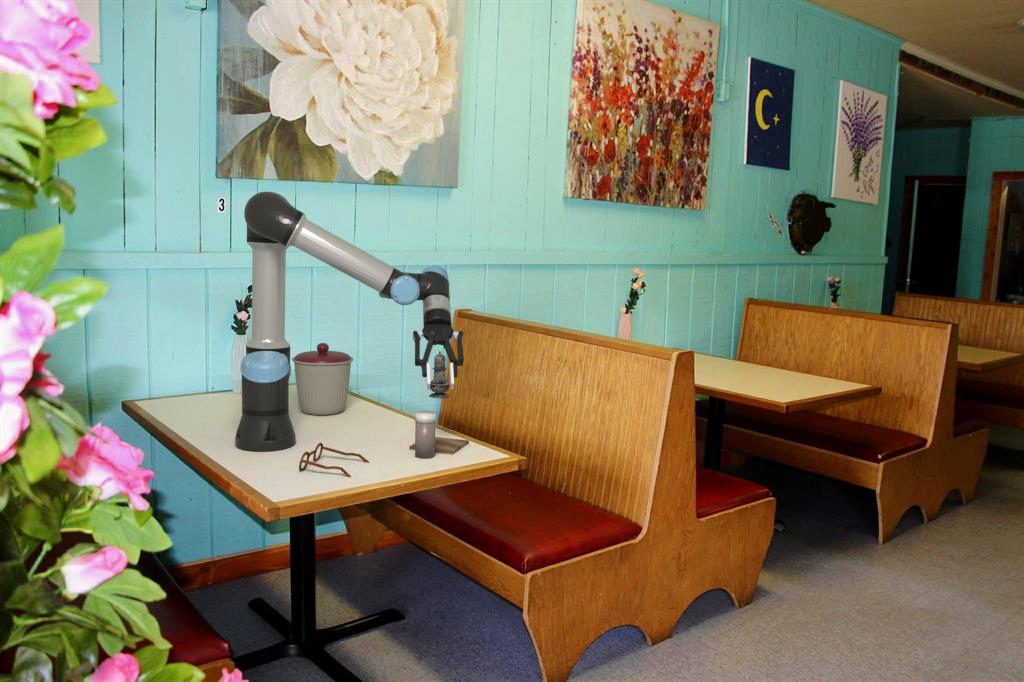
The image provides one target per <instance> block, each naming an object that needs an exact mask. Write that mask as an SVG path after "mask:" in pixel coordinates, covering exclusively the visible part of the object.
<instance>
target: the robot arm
mask: <svg viewBox="0 0 1024 682" xmlns="http://www.w3.org/2000/svg"><path fill="white" fill-rule="evenodd" d="M243 211H244V212H243V214H244V215H243V216H244V220H245V223H246V243H247V245H248V246H249V247H250V248H251V249H252V250H251V251H252V260H251V261H252V262H251V263H252V264H251V265H252V268H251V269H252V273H251V276H252V277H251V278H252V280H251V281H252V282H251V283H252V284H251V292H252V293H251V338H250V340H249V341H247V342H246V344H245V355H244V356H243V357H242V360H241V364H240V372H241V417H240V421H239V424H238V426H237V430H236V433H235V435H234V436H235V437H234V444H235V447H236V448H238V449H241V450H245V451H249V452H250V451H251V452H268V451H269V452H270V451H279V450H284V449H288V448H291V447H293V446H295V445H296V443H297V440H296V439H297V438H296V437H297V435H296V432H295V430H294V425H293V423H292V419H291V417H290V414H289V413H290V412H289V411H290V410H289V409H290V407H289V405H290V403H289V400H290V399H289V396H290V395H289V393H290V392H289V391H290V390H289V388H290V387H289V384H290V377H291V374H292V365H291V343H290V342H288V341H287V339H286V338H285V337H286V336H285V334H286V333H285V331H286V329H285V328H286V326H285V325H286V265H287V263H286V260H287V257H286V255H287V250H288V249H289V247H295V248H296V249H299V250H300V251H301V252H304V253H306V254H308V255H310V256H311V257H313V258H316V259H317V260H318V261H321V262H322V263H325V264H326V265H328V266H330V267H331V268H334V269H335V270H337V271H340V272H341V273H343V274H345V275H347V276H349V277H350V278H352V279H354V280H356V281H358V282H360V283H362V284H364V285H365V286H367V287H369V288H371V289H373V290H375V291H377V292H378V297H380V298H383V299H388V300H392V301H394V302H395V303H396V304H398V305H400V306H409V305H412V304H413V303H415V302H417V301H422V315H423V317H422V318H423V319H422V320H423V328H422V329H421V330H420V331H418V330H413V332H412V339H413V343H414V365H415V367H421V376H422V378H426V390H430V391H431V389H430V381H431V367H430V362H429V359H430V356H431V353H432V349H433V346H437V345H439V346H442V347H443V349H444V351H445V352H446V355H447V358H448V360H449V368H448V369H449V382H450V387H449V389H450V390H454V387H455V378H457V377H458V374H459V372H458V368H459V367H463V365H464V363H465V361H464V360H465V359H464V358H465V356H464V348H463V339H464V338H463V336H464V331H463V330H459V331H456V330H454V329H453V327H452V325H453V324H452V316H451V314H452V312H451V300H450V299H451V298H450V297H451V295H450V294H451V293H450V280H449V275H448V271H447V270H446V269H445V268H444V267H442V266H440V265H432V266H427V267H425V268H424V269H423V270H422V273H421V272H420V273H418V272H417V273H415V272H414V273H413V272H407V271H401V270H399V269H398V268H395V267H394V266H392V265H391V264H388V263H387V262H384V261H383V260H381V259H380V258H377V257H376V256H374V255H372V254H370V253H369V252H367V251H365V250H363V249H361V248H359V247H357V246H356V245H354V244H353V243H350V242H348V241H347V240H345V239H343V238H342V237H340V236H337V235H335V234H334V233H332V232H330V231H328V230H327V229H325V228H323V227H322V226H320V225H318V224H316V223H314V222H312V221H310V220H309V219H308V218H307V217H306V214H305V212H302V211H301V210H299V209H298V208H296V207H294V206H293V205H292V204H291V203H290V201H289V200H288V199H287V198H286V197H285V196H283V195H282V194H280V193H278V192H274V191H261V192H258V193H255V194H253V196H251V197H250V198H249V199H248V200H247V202H246V204H245V207H244V210H243ZM422 337H423V338H424V339H425V340H426V341H427V344H426V346H425V347H426V348H425V351H424V354H423V358H422V359H421V353H420V352H421V350H420V349H421V340H422ZM453 337H454V340H455V342H456V353H457V356H456V354H455V352H454V350H453V346H452V345H451V341H450V340H451V339H452V338H453Z"/></svg>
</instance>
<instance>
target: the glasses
mask: <svg viewBox="0 0 1024 682" xmlns="http://www.w3.org/2000/svg"><path fill="white" fill-rule="evenodd" d="M319 447H320V451H319V454H318V456H317V452H318V449H319ZM323 450H324V451H327V452H332V453H336V454H338V455H339V454H340V455H342V456H345V457H346V456H353V457H358V458H360V460H362V461H363V462H364V463H366V462H367V464H370V461H369V460H367V458H366V457H364V456H363V455H362V454H360V453H355V452H344V451H341V450H337V449H334V448H330V447H328V446H324V444H323V442H319V443H318V444H317V445H316V447H315V448H314V450H312V451H310V452H309V451H305V452H303V454H302V455H301V457H300V459H299V460H300V461H299V465H298V471H299V472H301V471H302V472H303V471H305V470H306V468H307V467H308V465H309V466H313V467H317V468H320V469H323V470H339V471H341V472H342V474H344V475H345V476H346V478H352V475H350V474H349V472H348V471H346V470H345V468H343V467H341V466H336V465H332V466H328V465H327V466H326V465H323V464H319V463H317V462H318V461H319V460H320V458H321V456H322V453H323ZM311 456H313V457H312V458H313V459H312V460H313V462H312V461H309V460H310V458H311ZM316 456H317V458H316ZM305 457H306V459H304V458H305ZM317 460H318V461H317ZM315 461H316V462H315ZM303 463H304V464H303ZM302 465H304V466H303V467H302ZM304 469H305V470H304Z"/></svg>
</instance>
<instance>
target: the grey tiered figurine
mask: <svg viewBox="0 0 1024 682" xmlns="http://www.w3.org/2000/svg"><path fill="white" fill-rule="evenodd" d="M433 361H434V363H433V364H434V365H433V366H434V367H433V368H432V370H433V378H432V380H430V391H431V392H432V393H431V394H428V395H429V396H428V397H429V398H432V399H448V398H450V395H449V394H448V393H447V392H448V391H449V389H450V381H448V380H447V378H446V370H447V367H446V356H445V355H444V354H442V352H441V350H439V352H438V354H436V355H435V356H434V359H433Z"/></svg>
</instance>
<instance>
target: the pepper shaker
mask: <svg viewBox="0 0 1024 682" xmlns="http://www.w3.org/2000/svg"><path fill="white" fill-rule="evenodd" d="M414 415H415V417H414V421H415V422H414V423H415V428H414V429H415V430H414V431H415V432H414V433H415V434H414V435H415V436H414V438H415V440H414V443H415V450H414V457H415V458H417V459H425V460H427V459H428V460H429V459H433V458H435V457H436V453H435V437H436V426H437V425H436V423H437V413H436V412H435V411H433V410H432V411H431V410H419V411H417V412H414Z"/></svg>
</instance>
